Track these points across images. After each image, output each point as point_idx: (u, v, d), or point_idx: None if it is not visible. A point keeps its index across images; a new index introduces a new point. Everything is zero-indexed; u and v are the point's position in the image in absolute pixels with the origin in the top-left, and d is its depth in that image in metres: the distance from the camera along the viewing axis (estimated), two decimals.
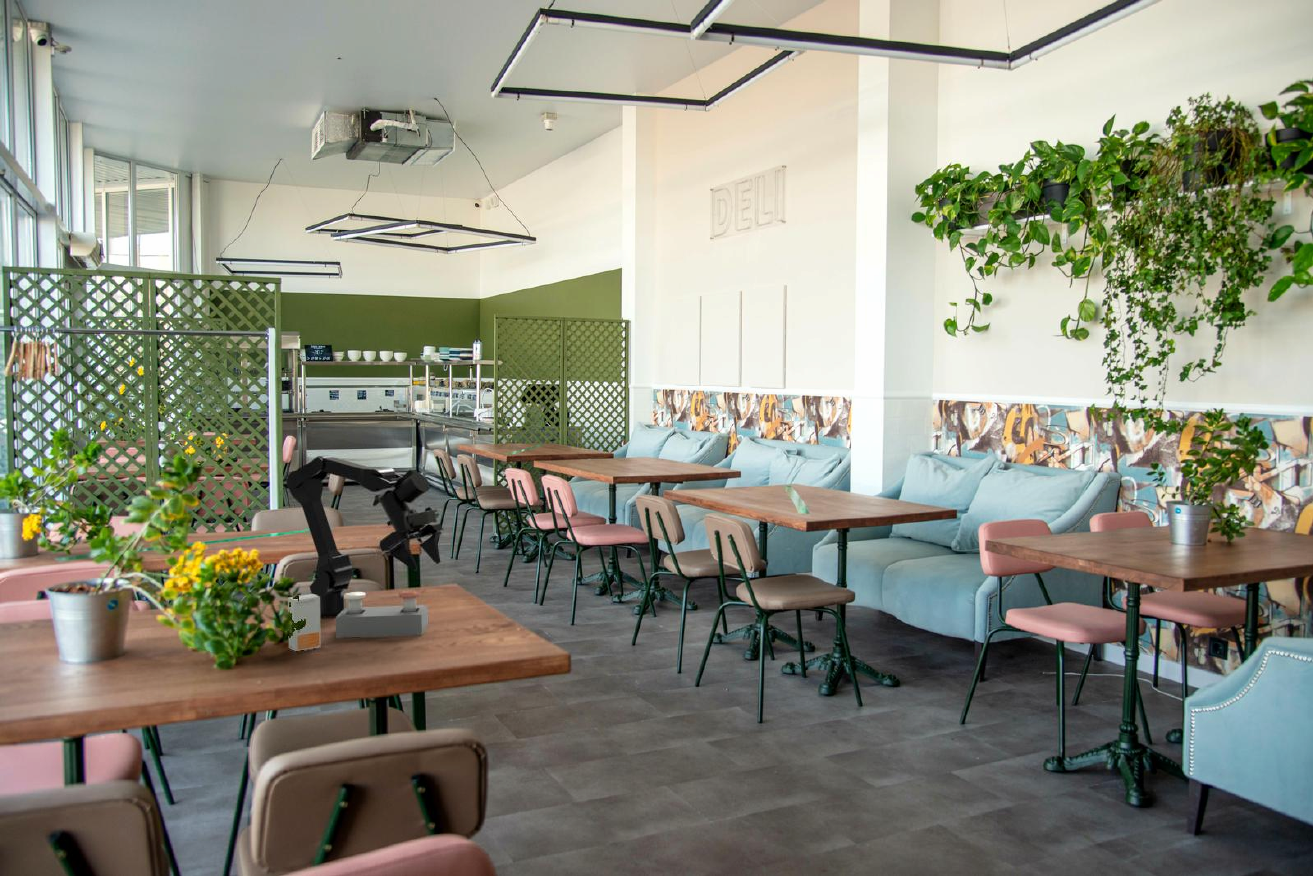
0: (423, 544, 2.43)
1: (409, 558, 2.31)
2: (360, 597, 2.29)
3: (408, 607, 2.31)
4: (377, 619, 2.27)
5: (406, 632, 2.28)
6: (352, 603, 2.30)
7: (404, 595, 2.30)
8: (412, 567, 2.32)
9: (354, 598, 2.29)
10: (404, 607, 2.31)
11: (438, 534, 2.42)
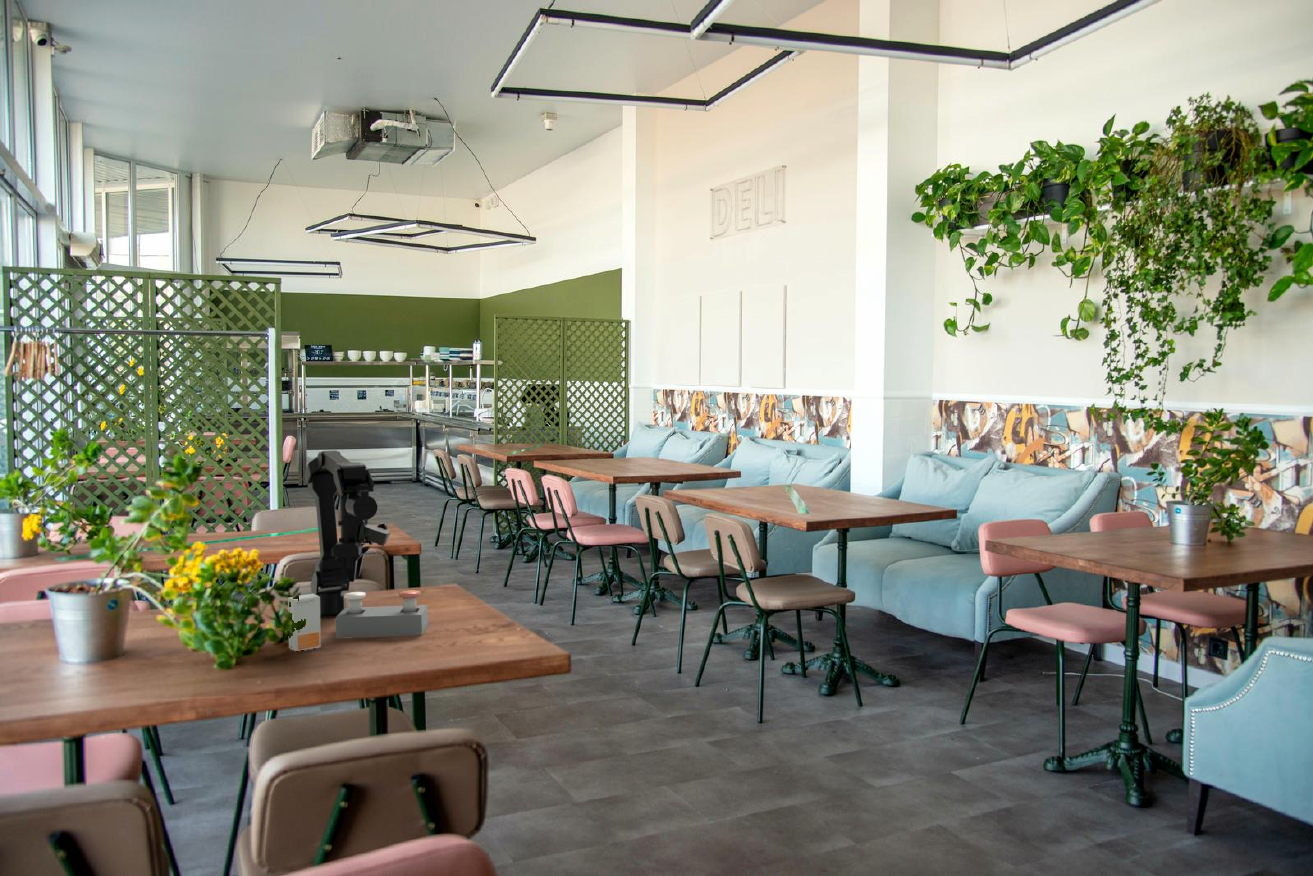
0: None
1: (353, 570, 2.27)
2: (360, 597, 2.29)
3: (408, 607, 2.31)
4: (377, 619, 2.27)
5: (406, 632, 2.28)
6: (352, 603, 2.30)
7: (404, 595, 2.30)
8: (350, 578, 2.28)
9: (354, 598, 2.29)
10: (404, 607, 2.31)
11: None
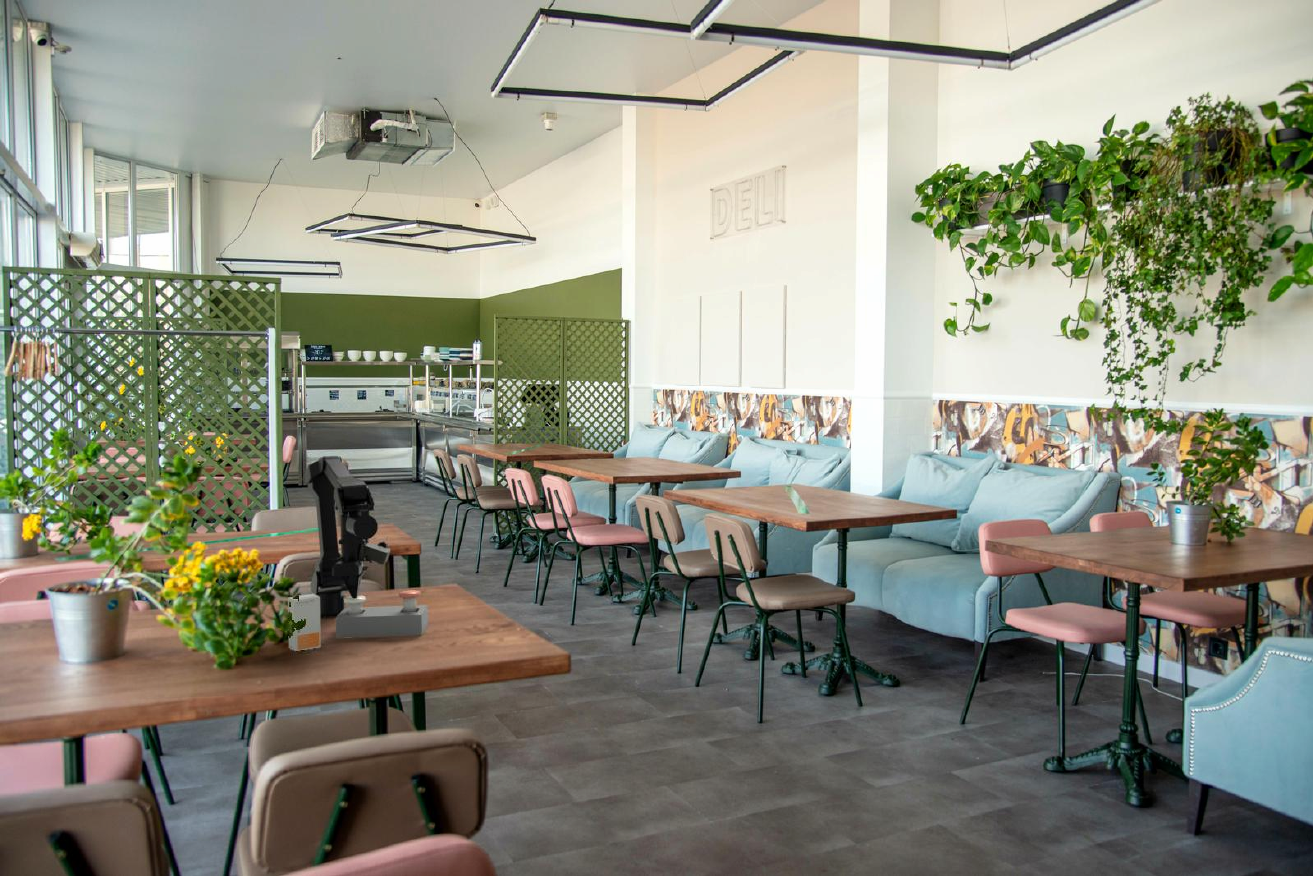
0: None
1: (356, 586, 2.30)
2: (360, 601, 2.30)
3: (408, 607, 2.31)
4: (377, 619, 2.27)
5: (406, 632, 2.28)
6: (352, 606, 2.30)
7: (404, 595, 2.30)
8: (353, 594, 2.31)
9: (354, 602, 2.29)
10: (404, 607, 2.31)
11: None
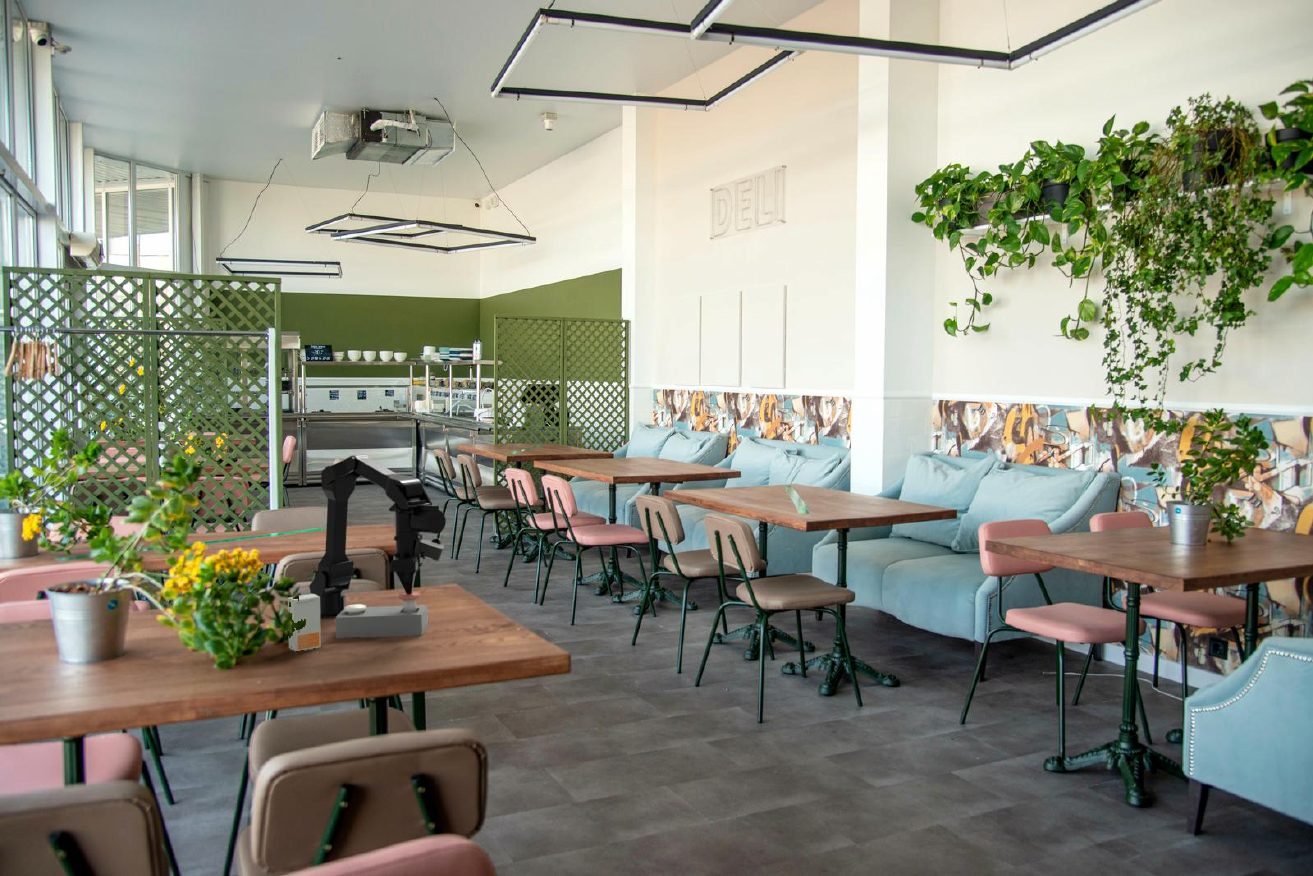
0: None
1: (411, 582, 2.31)
2: (360, 610, 2.30)
3: (408, 608, 2.31)
4: (377, 619, 2.27)
5: (406, 632, 2.28)
6: None
7: (404, 597, 2.30)
8: (407, 590, 2.32)
9: (354, 611, 2.29)
10: (404, 609, 2.31)
11: (421, 565, 2.34)
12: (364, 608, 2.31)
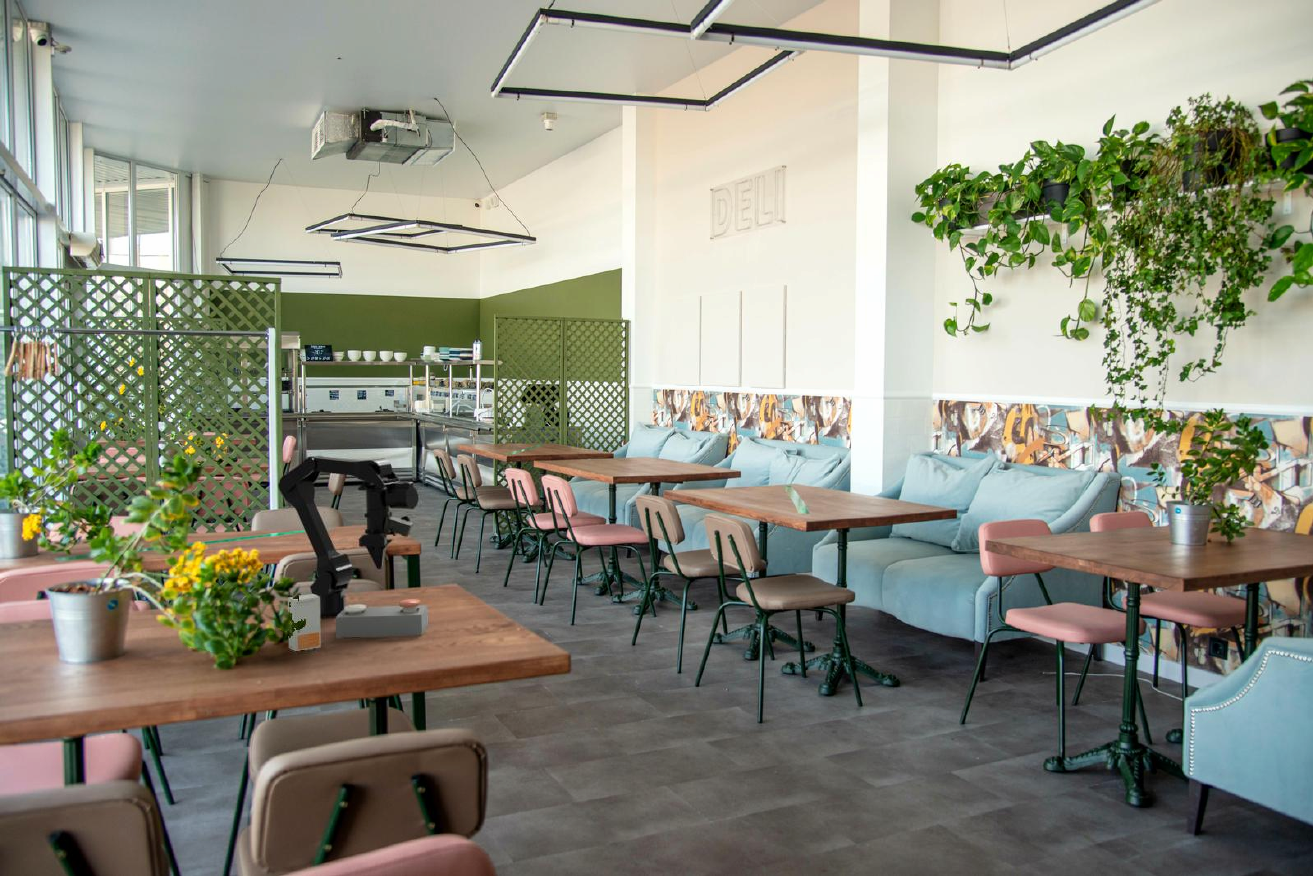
0: None
1: (381, 557, 2.43)
2: (360, 610, 2.30)
3: None
4: (377, 619, 2.27)
5: (406, 632, 2.28)
6: None
7: (404, 604, 2.30)
8: (378, 565, 2.43)
9: (354, 611, 2.29)
10: None
11: (391, 541, 2.46)
12: (364, 608, 2.31)
